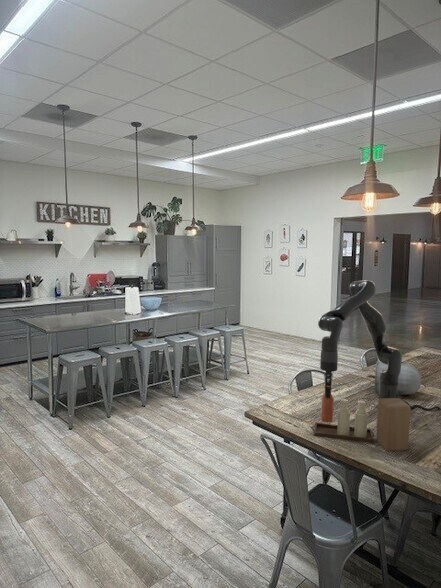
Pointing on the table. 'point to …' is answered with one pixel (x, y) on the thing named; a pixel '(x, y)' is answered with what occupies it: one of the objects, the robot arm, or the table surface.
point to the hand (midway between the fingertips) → (327, 395)
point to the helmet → (400, 378)
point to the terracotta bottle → (327, 408)
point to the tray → (331, 432)
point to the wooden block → (393, 424)
